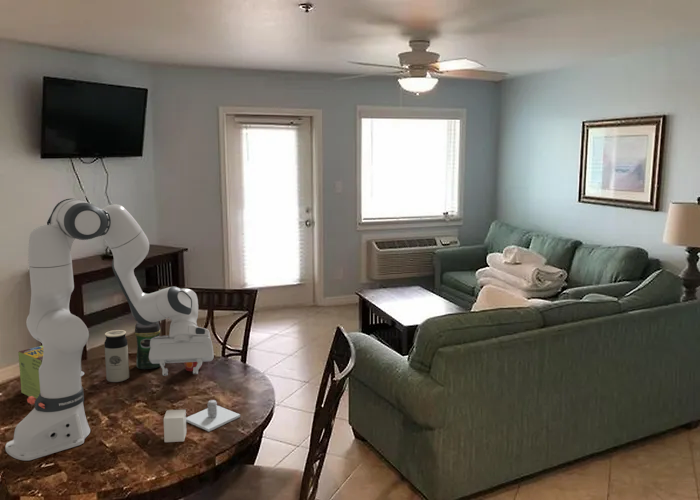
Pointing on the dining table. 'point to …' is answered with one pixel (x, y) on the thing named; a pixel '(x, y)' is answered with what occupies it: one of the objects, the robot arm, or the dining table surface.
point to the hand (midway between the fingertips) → (180, 374)
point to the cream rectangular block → (175, 425)
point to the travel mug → (116, 356)
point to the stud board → (211, 421)
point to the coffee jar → (145, 344)
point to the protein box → (30, 370)
